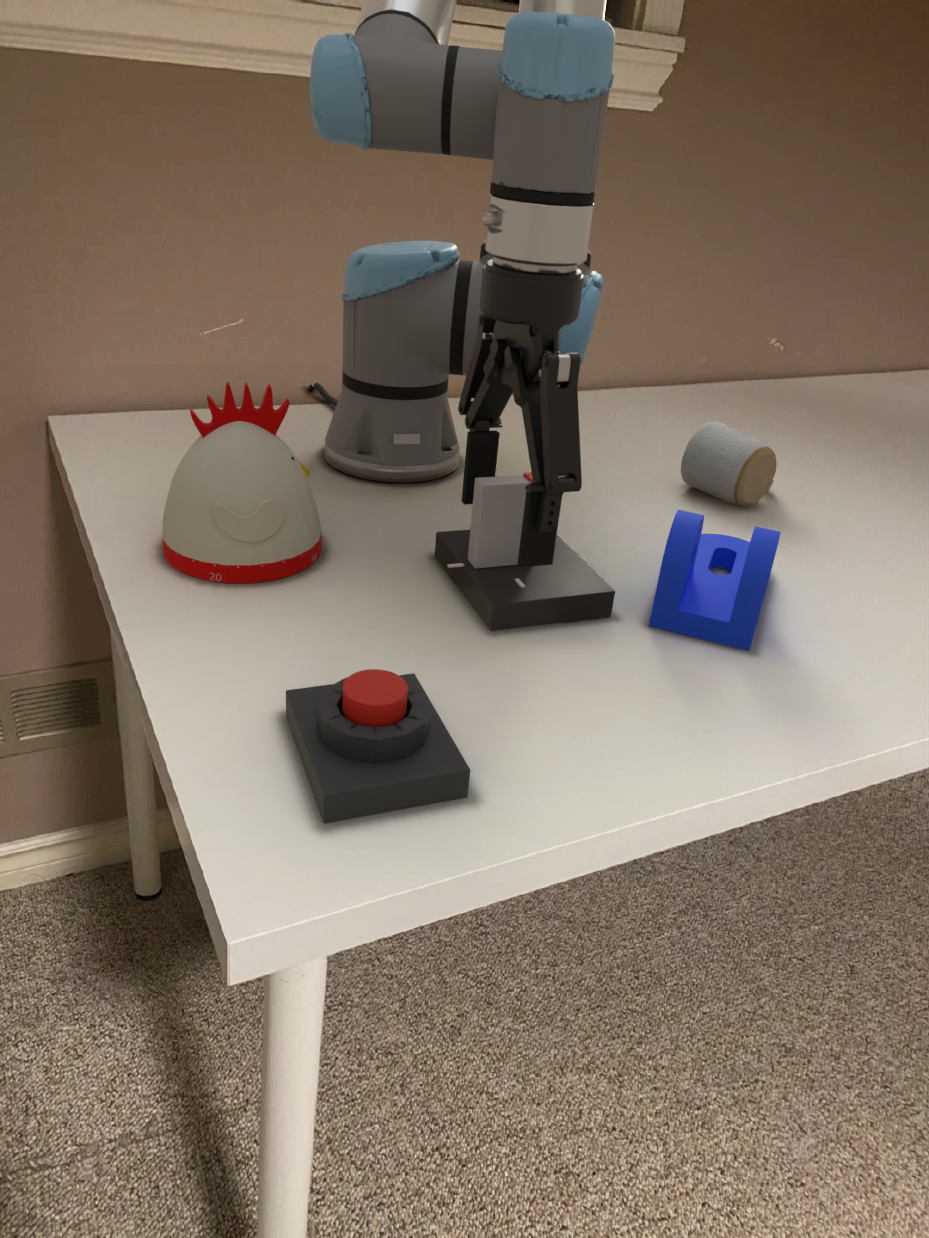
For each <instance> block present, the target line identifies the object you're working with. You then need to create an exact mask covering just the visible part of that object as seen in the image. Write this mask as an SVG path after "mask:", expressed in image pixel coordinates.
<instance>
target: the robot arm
mask: <svg viewBox="0 0 929 1238" xmlns="http://www.w3.org/2000/svg"><path fill="white" fill-rule="evenodd" d="M457 1H458V0H363V3H362V5H361V9H360V13H359V16H358V19H357V23H356V25H355V29H354V32H353V34H352V33H351V32H345V33H343V34H326V35H324V36H320V37H319V38H318V40H317V42H316V43H315V46H314V47H313V52H312V57H311V62H310V63H311V64H310V73H309V77H310V78H309V97H310V109H311V110H310V111H311V117H312V121H313V126H314V128H315V131H316V132H317V134H318V135H319V137H321V138H322V140H324V141H326V142H329V143H334V144H339V145H346V146H352V147H359V148H360V149H362V150H366V151H367V150H370V149H372V150H386V151H399V152H409V153H410V152H411V153H423V154H434V155H444V156H452V157H460V158H461V157H462V158H470V159H472V158H473V159H481V160H490V161H491V160H492V171H491V182H490V185H489V186H490V188H489V198H488V211H484V212H483V214H482V215H481V216H482V219H481V220H482V224H483V225H484V226H486V232H485V233H486V234H485V239H484V240H482V242H481V243H480V251H479V260H464V259H460V252H459V247H458V246H457V244H455V243H453V242H449V241H438V240H403V241H394V242H383V243H378V244H371V245H368V246H365V247H361V248H359V249H357V250H355V251H354V252H353V253H351V254H350V256H349V257H348V258H347V260H346V263H345V269H344V283H343V292H342V294H341V301H343V309H342V311H343V312H342V313H343V314H342V317H343V319H342V377H341V378H342V379H341V392H340V394H339V396H338V399H337V398H335V397H333V396H332V395H330V393H328V392H327V390H326V389H325V388H324V387H323V385H321V384H320V383H318V382H316V383H315V384H314V387H313V386H312V385H311V384H312V383H310V384H309V385H308V388H307V390H306V391H308V392H314V391H315V390H316V391H317V392H318V393H319V394H320V396H321V397H322V398H323V399H324V400H325V401H326V402H328V403H329V404H331V405H332V406H333V407H335V408H334V411H333V414H332V417H331V420H330V423H329V426H328V429H327V432H326V435H325V437H324V458H325V461H326V462H327V464H329V465H330V466H331V467H333V468H334V469H335V470H338V471H339V472H342V473H344V474H346V475H349V476H353V477H357V478H360V479H364V480H369V481H374V482H375V481H376V482H385V483H419V482H426V481H431V480H436V479H440V478H443V477H445V476H447V475H449V474H451V473H452V472H454V471H455V470H456V469H457V468H458V465H459V459H460V443H459V439H458V436H457V430H456V427H455V423H454V419H453V414H452V411H451V407H450V402H449V396H448V393H449V392H448V391H449V376H450V375H455V376H464V377H465V379H464V383H463V387H462V390H461V394H460V398H459V402H458V407H457V412H458V413H459V415H460V416H465V417H464V426H465V428H466V429H467V430H469V431H467V434H466V445H465V457H464V459H465V460H464V467H463V468H464V469H463V481H462V490H461V503H462V504H463V505H464V506H465V505H473V496H474V486H475V478H482V477H496V471H497V463H498V460H497V459H498V452H499V444H500V435H501V434H500V432H499V431H498V430H491V429H501V428H503V424H502V420H501V416H502V414H503V412H504V410H505V408H506V406H507V405H508V402H509V401H510V398H511V397H512V396H513V400H514V401H513V402H514V403H515V405H517V406H518V407H520V409H521V413H522V420H523V426H524V427H523V428H524V434H525V439H526V440H525V441H526V446H527V452H528V460H529V466H530V470H531V471H530V472H532V478H533V483H530V484H528V485H527V486H526V487H525V490H526V498H525V506H524V515H523V523H522V531H521V539H520V547H519V555H518V564H519V565H520V567H531V566H542V565H552V563H553V556H554V549H555V542H556V535H558V528H559V521H560V520H559V519H560V514H561V513H560V512H561V508H562V499H563V496H564V493H573V492H576V493H577V492H580V491H581V490H582V488H583V487H582V486H583V479H582V459H581V457H582V456H581V436H580V435H581V434H580V416H579V415H580V413H579V394H578V393H579V392H578V391H579V390H578V385H579V376H580V371H581V369H582V367H583V363H584V360H585V357H586V354H587V350H588V347H589V344H590V340H591V337H592V333H593V329H594V325H595V320H596V317H597V313H598V309H599V304H600V300H601V294H602V287H603V285H604V277H603V275H602V274H601V273H598V271H596V270H591V264H592V252H591V250H590V249H589V246H590V239H591V231H592V224H593V219H594V218H593V217H594V211H595V210H594V209H595V196H596V192H595V190H596V184H597V177H598V171H599V165H600V158H601V153H602V146H603V139H604V134H605V133H604V132H605V126H606V119H607V112H608V105H609V98H610V90H611V88H612V87H613V83H614V78H615V74H614V57H615V55H614V54H615V44H616V32H615V30H614V27H613V25H611V24H610V23H609V22H608V21H607V20H605V13H606V6H607V0H519V9H518V10H519V12H517V13H515V14H513V15H512V16H511V17H509V19H508V20H507V22H506V25H505V27H504V33H503V42H502V48H501V49H492V48H491V49H490V48H479V47H467V46H460V45H452V44H451V45H449V41H450V37H451V31H452V26H453V21H454V16H455V11H456V7H457V3H458V2H457ZM472 399H473V400H472Z"/></svg>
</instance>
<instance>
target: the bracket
mask: <svg viewBox="0 0 929 1238" xmlns="http://www.w3.org/2000/svg"><path fill="white" fill-rule="evenodd" d="M704 521H705V515H704V514H701V513H696V512H691V511H688V510H687V511H686V510H682V509H677V511H676V512H675V515H674V517H673V520H672V523H671V525H670V529H669V533H668V536H667V540H666V542H665V543H666V544H665V547H664V551H663V555H662V560H661V565H660V568H659V573H658V578H657V584H656V587H655V588H656V589H655V593H654V598H653V602H652V608H651V613H650V617H649V622H648V627H652V628H655V629H660V630H665V631H668V632H672V633H676V634H680V635H683V636H687V637H691V638H696V639H699V640H704V641H708V642H712V643H716V644H720V645H723V646H727V647H732V648H735V649H739V650H743V651H747V652H750V650H751V647H752V643H753V639H754V635H755V632H756V628H757V624H758V622H759V618H760V614H761V610H762V606H763V603H764V598H765V595H766V591H767V588H768V584H769V581H770V577H771V573H772V569H773V566H774V561H775V558H776V555H777V550H778V546H779V542H780V537H781V533H782V531H780V530H775V529H771V528H765V527H762V526H757V525H754V527H753V530H752V534H751V537H750V540H749V541H748V540H746V539H743V538H739V537H735V536H732V535H727V534H721V533H703V528H704ZM714 568H720V569H724V570H727V571H728V572H730V573H729V574H718V573H715V572H713V571H711V569H714Z"/></svg>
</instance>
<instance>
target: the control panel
mask: <svg viewBox="0 0 929 1238" xmlns="http://www.w3.org/2000/svg"><path fill="white" fill-rule="evenodd" d="M469 539H470V528H469V529H457V530H446V531H445V530H444V531H436V532H435V543H434V555H433V557H434V558H435V559H436V561H437V562H438V564H440V566H441V567H442V568H443V570H444V571H445V573H446V574H447V575H448V576H449V578H450V579H451V581H452V582H453V583H454V584H455V586H456V587H457V589H458V590H459V591H460V592H461V593H462V595H463V596H464V597H465V599H466V601H468V603H469V604H470V606H471V607H472V608H473V610H474V611H475V612H476V614H477V615H478V616H479V617H480V619H481V620H482V622H483V623H484V624H485V625H486V627H487V628H488V629H489V631H490V632H495V631H503V630H513V629H521V628H528V627H529V628H531V627H537V626H545V625H546V626H547V625H554V624H561V623H563V624H564V623H565V624H566V623H573V622H581V621H589V620H597V619H607V618H611V617H612V611H613V607H614V601H615V596H616V590H615V589H613V587H612V586H611V585H610V584H608V583H607V582H606V581H605V580H604V578H602V577H601V576H600V575H599V573H597V572H596V571H595V570H594V569H593V568H592V567H591V566H589V564H588V563H587V562H586V561H585V560H584V559H583V558H581V557H580V555H579V554H578V553H577V552H575V550H573V549H572V548H571V547H570V546H569V545H568V544H567V543H566V542H565V541H564V540H563V539H562V538H561V537H560V536H559V535H558V534H557V535H556V542H555V549H554V556H553V563H552V565H542V566H531V567H520V565H508V566H498V567H487V568H477V569H475V568H474V567H473V566H472V564H471V563H470V562H469V561H468V550H469Z"/></svg>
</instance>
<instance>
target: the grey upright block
mask: <svg viewBox="0 0 929 1238" xmlns="http://www.w3.org/2000/svg"><path fill="white" fill-rule="evenodd" d="M530 483H533V478H532V472H531V471H529V472H524V473H523V474H519V475H501V476H495V477H482V478H475V486H474V496H473V504H472V507H471V519H470V527H469V529H470V539H469V550H468V561H469V562H470V563H471V564H472V566H473V567H474V568H475V569H477V568H487V567H498V566H508V565H519V564H518V555H519V547H520V539H521V531H522V523H523V515H524V506H525V498H526V490H525V487H526V486H527V485H528V484H530Z"/></svg>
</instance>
